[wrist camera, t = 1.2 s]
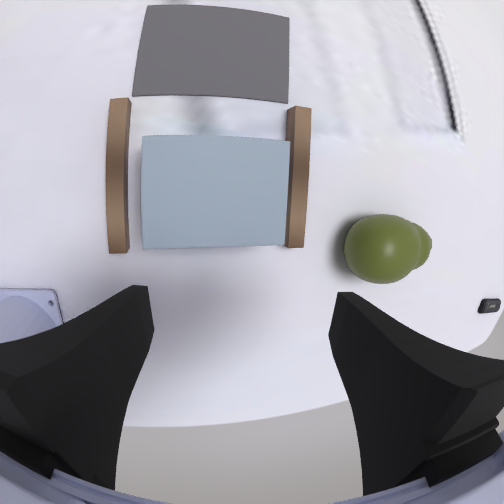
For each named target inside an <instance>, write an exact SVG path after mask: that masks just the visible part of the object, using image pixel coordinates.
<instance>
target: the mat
mask: <svg viewBox="0 0 504 504" xmlns="http://www.w3.org/2000/svg"><path fill="white" fill-rule="evenodd" d="M288 87H289V18H288V17H283V16H279V15H274V14H269V13H263V12H257V11H251V10H244V9H236V8H228V7H217V6H203V5H149V6H147V11H146V15H145V19H144V24H143V29H142V33H141V39H140V44H139V50H138V56H137V62H136V68H135V76H134V83H133V92H132V96H147V95H205V96H224V97H237V98H248V99H257V100H266V101H274V102H281V103H287V104H288Z"/></svg>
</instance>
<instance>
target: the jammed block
mask: <svg viewBox="0 0 504 504" xmlns="http://www.w3.org/2000/svg"><path fill="white" fill-rule="evenodd" d="M289 158H290V141H283V140H273V139H262V138H249V137H233V136H209V135H154V136H143V138H142V162H141V216H142V242H143V249H162V248H195V247H230V246H267V245H284V243H285V228H286V213H287V196H288V178H289Z"/></svg>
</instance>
